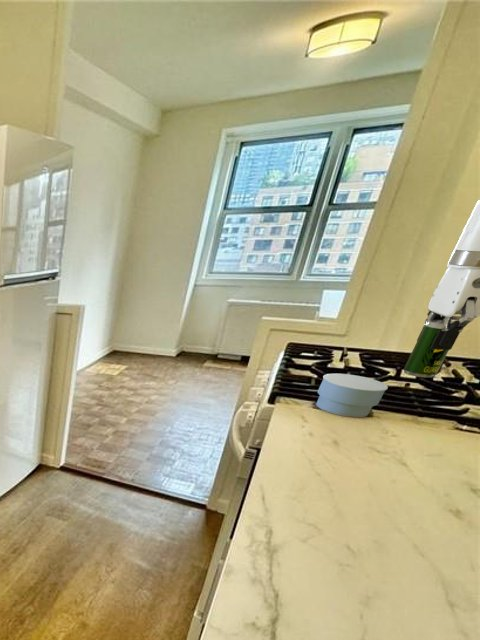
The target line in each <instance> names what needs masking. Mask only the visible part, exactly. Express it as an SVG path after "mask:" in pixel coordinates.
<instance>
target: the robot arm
mask: <svg viewBox="0 0 480 640" xmlns="http://www.w3.org/2000/svg"><path fill="white" fill-rule="evenodd" d="M446 267H447V269H446V270H445V272H444V273H443V276H442V277H441V279H440V281H439V283H438V284H437V286H436V288H435V290H434V291H433V294H432V296H431V297H430V301H429V303H428V305H427V309H428V313H427V314H426V315H427V317H426V319H425V320H424V324H423V326H422V329H421V331H420V333H419V335H418V337H417V339H416V342H417V341H418V339H419V336H420V334H421V332H422V330H423V328H424V326H425V325H426V324H427V323H428V321H429V320H445V322H444V325H443V328H442V331H441V330H439V331H438V333H437V335H436V337H435V339H434V341H433V343H432V345H431V348H432V349H439V350H449V351H450V350H452V348H453V347H454V345H455V343H456V341H457V339H458V338H459V335H460V333H462V332H463V330H464V328H465V327H466V326H468V324H470V323H471V322H473V321H474V320H475V319H477V318H479V317H480V199H478V201H477V202H476V204H475V206H474V208H473V209H472V212H471V215H470V217H469V218H468V220H467V223H466V225H465V226H464V228H463V230H462V233H461V235H460V237H459V240H458V241H457V244H456V245H455V247H454V249H453V252H452V253H451V256H450V258H449V260H448V262H447V264H446ZM456 315H457V316H456ZM451 321H454V322H453V323H451Z"/></svg>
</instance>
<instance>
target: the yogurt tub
mask: <svg viewBox="0 0 480 640" xmlns="http://www.w3.org/2000/svg"><path fill="white" fill-rule="evenodd" d="M388 388H389V387H388V385H387V384H385V383H383V382H382V381H380V380H376V379H373V378H370V377H365V376H362V375H361V376H360V375H355V374H349V373H326V374H324V375H323V376H322V381H321V383H320V385H319V387H318V390H317V394H318V395H319V396H318V399H317V400H316V402H315V406H316V407H318V408H319V409H321V410H322V411H325V412H327V413H330V414H334V415H338V416H341V417H343V416H344V417H349V418H350V417H351V418H365V417H367V416H368V415H369V414H370V412H371V410H372V408H373V407H375V406H378V405H379V403H380V401H381V399H382V398H383V395H384V394H385V392H386V391H387V390H388Z"/></svg>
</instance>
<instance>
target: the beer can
mask: <svg viewBox="0 0 480 640" xmlns="http://www.w3.org/2000/svg"><path fill="white" fill-rule="evenodd" d="M454 321H455V320H452V321H451V323H453V322H454ZM444 322H445V320H429V321H428V323H427V324H426V325H425V324H424V325H425V326H424V325H423V327H424V328H423V327H422V329H423V330H422V329H421V331H422V332H421V331H420V333H421V334H420V333H419V335H420V336H419V335H418V337H419V339H418V338H417V339H418V341H417V340H416V343H415V344H414V347H413V349H412V351H411V353H410V355H409V357H408V360H407V361H406V364H405V365H404V368H403V373H404V374H405V375H408V376H412V377H418V378H434V377H435V376H436V375H437V374H438V373H439V371H440V368H441V366H442V365H443V362H444V360H445V359H446V357H447V355H448V353H449V351H450V350H439V349H432V348H431V345H432V343H433V341H434V339H435V337H436V335H437V333H438V331H439V330H441V331H442V328H443V325H444Z"/></svg>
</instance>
